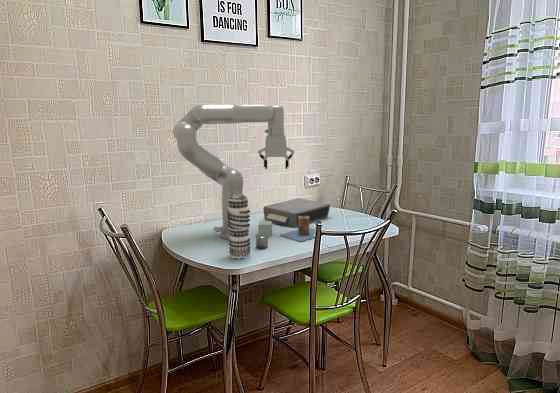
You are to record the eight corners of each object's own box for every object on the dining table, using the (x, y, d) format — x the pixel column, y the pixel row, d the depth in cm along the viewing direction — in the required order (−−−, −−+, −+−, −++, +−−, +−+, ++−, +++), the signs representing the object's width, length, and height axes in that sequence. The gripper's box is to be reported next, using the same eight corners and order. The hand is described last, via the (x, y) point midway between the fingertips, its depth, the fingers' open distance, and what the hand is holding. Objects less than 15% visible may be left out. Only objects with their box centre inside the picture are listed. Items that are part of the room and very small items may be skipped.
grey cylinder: (255, 249, 176) (255, 238, 175) (256, 245, 181) (256, 234, 180) (267, 249, 176) (267, 238, 175) (268, 245, 181) (268, 234, 180)
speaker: (291, 230, 205) (330, 218, 226) (291, 214, 204) (330, 203, 224) (260, 221, 222) (298, 211, 242) (259, 206, 221) (298, 197, 241)
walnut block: (298, 235, 193) (298, 218, 191) (298, 232, 198) (298, 215, 196) (309, 235, 193) (309, 218, 191) (309, 232, 198) (309, 215, 196)
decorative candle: (251, 251, 174) (250, 192, 169) (251, 259, 165) (249, 197, 160) (229, 251, 174) (227, 193, 169) (227, 259, 165) (225, 197, 160)
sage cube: (258, 237, 194) (258, 224, 192) (259, 233, 199) (259, 221, 198) (271, 237, 193) (271, 224, 192) (272, 233, 199) (272, 221, 198)
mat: (300, 242, 184) (300, 241, 184) (279, 235, 195) (279, 234, 194) (327, 234, 196) (327, 232, 196) (306, 228, 206) (306, 227, 206)
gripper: (256, 132, 192) (257, 169, 195) (294, 132, 191) (294, 169, 194) (258, 132, 199) (259, 167, 203) (294, 131, 198) (294, 167, 202)
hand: (276, 168), depth 199 cm, fingers open, 9 cm apart
